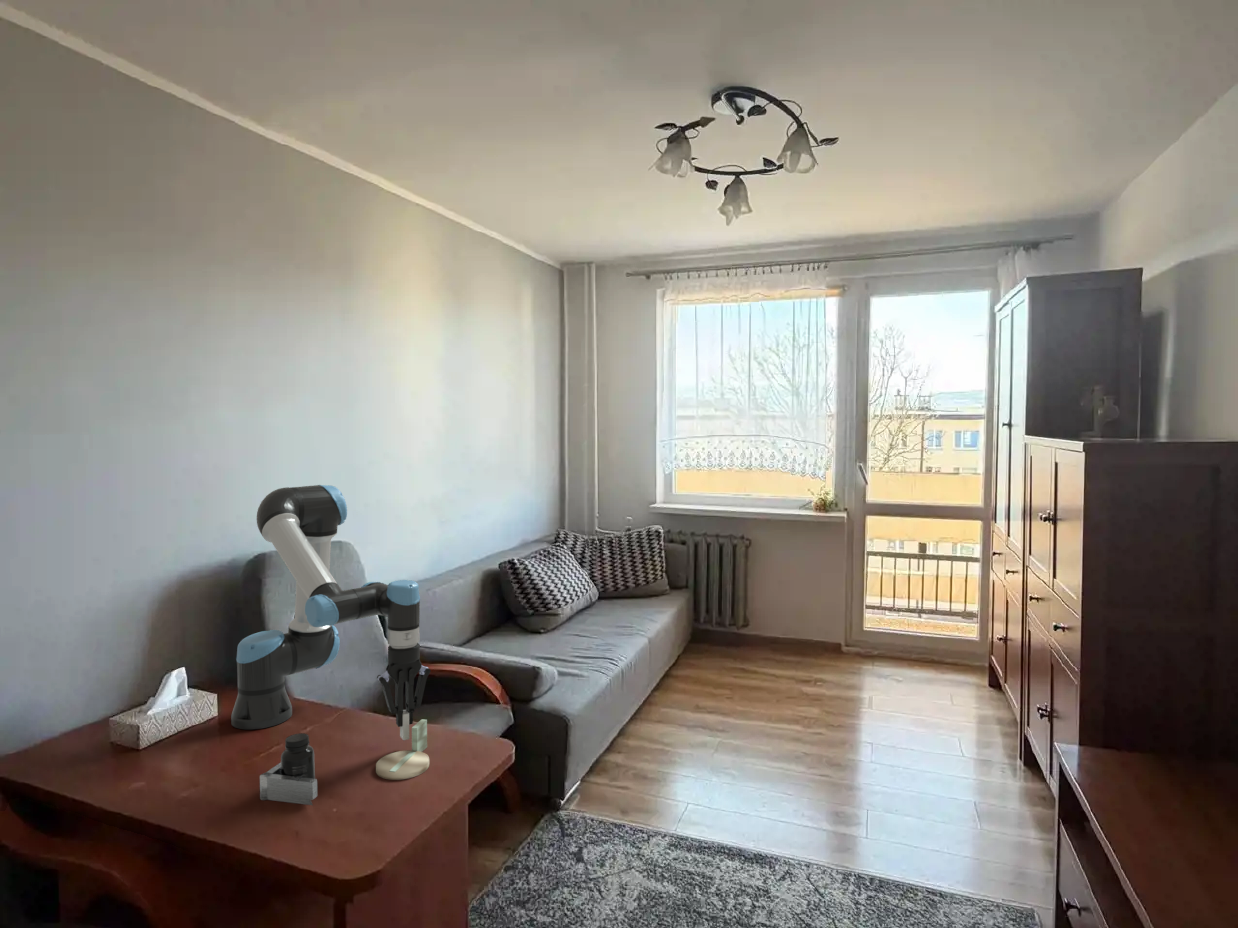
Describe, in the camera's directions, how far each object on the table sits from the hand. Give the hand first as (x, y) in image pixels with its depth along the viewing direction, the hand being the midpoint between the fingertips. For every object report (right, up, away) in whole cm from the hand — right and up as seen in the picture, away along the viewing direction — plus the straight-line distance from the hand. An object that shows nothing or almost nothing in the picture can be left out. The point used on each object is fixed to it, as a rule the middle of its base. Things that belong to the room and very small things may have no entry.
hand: (404, 737), depth 179 cm
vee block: (-21, -5, -19) cm, 28 cm away
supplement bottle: (-19, -5, -17) cm, 26 cm away
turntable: (+3, -3, -7) cm, 8 cm away
